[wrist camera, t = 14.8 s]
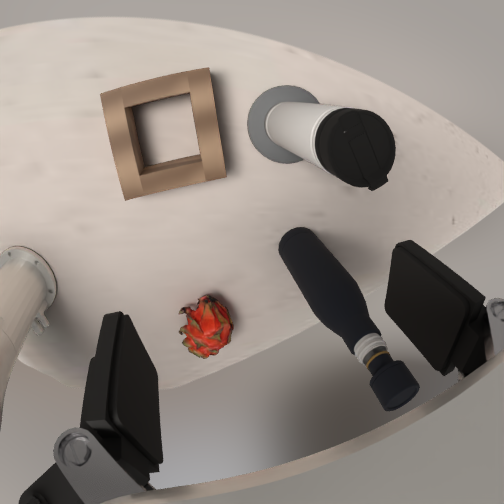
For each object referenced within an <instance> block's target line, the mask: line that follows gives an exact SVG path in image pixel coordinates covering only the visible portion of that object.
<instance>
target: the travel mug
mask: <svg viewBox="0 0 504 504" xmlns="http://www.w3.org/2000/svg"><path fill="white" fill-rule="evenodd" d="M264 129H265V132H266V135H267V136H268V138H269V139H270V140H271V141H272V142H274V143H275V144H277V145H279V146H281V147H283V148H284V149H286V150H288V151H290V152H292V153H294V154H296V155H297V156H299V157H301V158H303V159H305V160H306V161H308V162H310V163H312V164H314V165H315V166H317V167H319V168H321V169H322V170H324V171H326V172H328V173H329V174H331V175H333V176H336V177H337V178H339V179H341V180H342V181H344V182H346V183H348V184H350V185H352V186H356V187H368V189H369V190H371V191H373V190H375V189H377V188H379V187H381V186H382V185H384V184H385V183H386V182H388V178H387V174H388V173H389V171H390V170H391V168H392V165H393V163H394V159H395V150H396V147H395V140H394V137H393V133H392V131H391V129H390V127H389V126H388V124H387V123H386V122H385V121H384V120H383V119H382V118H381V117H380V116H379V115H377V114H375V113H374V112H371V111H368V110H362V109H355V108H352V107H344V106H335V105H326V104H315V103H302V102H280V103H277V104H275V105H274V106H272V107H271V108H270V109H269V110H268V112H267V113H266V116H265V119H264Z"/></svg>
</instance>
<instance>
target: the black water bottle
mask: <svg viewBox="0 0 504 504" xmlns="http://www.w3.org/2000/svg"><path fill="white" fill-rule="evenodd" d="M278 250H279V254H280V256H281V258H282V260H283V261H284V263H285V265H286V266H287V268H288V270H289V271H290V273H291V275H292V276H293V278H294V280H295V282H296V283H297V285H298V287H299V288H300V290H301V292H302V294H303V295H304V297H305V299H306V301H307V302H308V304H309V306H310V307H311V309H312V311H313V312H314V314H315V315H316V316H317V318H318V319H319V320H320V321H321V322H322V323H323V324H324V325H325V326H326V327H327V328H329V329H330V330H332V331H333V332H334V333H336V334H337V335H339V336H340V337H342V338H343V340H344V342H345V343H346V345H347V347H348V348H349V350H350V351H351V353H352V354H354V355H355V356H356V358H358V361H359V362H360V363H362V364H363V365H364V366H366V367H367V369H368V370H369V371H370V372H371V374H372V376H373V377H372V378H371V380H370V386H371V388H372V389H373V391H374V393H375V394H376V396H377V398H378V399H379V401H380V403H381V405H382V407H383V408H384V410H385V411H393V410H396V409H398V408H400V407H402V406H403V405H405V404H406V403H408V402H409V401H410V400H411V399H412V398H413V397H414V396H415V395H416V394H417V392H418V391H419V388H420V387H419V384H418V382H417V381H416V379H415V378H414V377H413V375H412V374H411V372H410V371H409V369H408V368H407V367H406V365H405V364H404V362H402V361H393V359H392V358H391V356H390V354H389V352H387V346H386V342H385V341H383V338H382V337H381V333H380V331H379V329H378V328H377V327H376V325H375V324H374V323H373V321H372V320H371V319H370V317H369V313H368V309H367V305H366V301H365V299H364V297H363V294H362V292H361V290H360V288H359V286H358V284H357V282H356V281H355V280H354V279H353V278H352V276H351V275H350V274H349V273H348V272H347V271H346V269H345V268H344V267H343V266H342V265H341V264H340V262H339V261H338V260H337V259H336V258H335V257H334V256H333V254H332V253H331V252H330V251H329V250H328V249H327V248H326V246H325V245H324V244H323V243H322V242H321V241H320V240H319V239H318V237H317V236H316V235H315V234H314V233H313V232H312V231H311V230H309V229H307V228H304V227H299V228H294V229H291V230H290V231H288V232H287V233H286V234H285V235H284V236H283V237H282V238H281V241H280V243H279V249H278Z"/></svg>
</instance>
